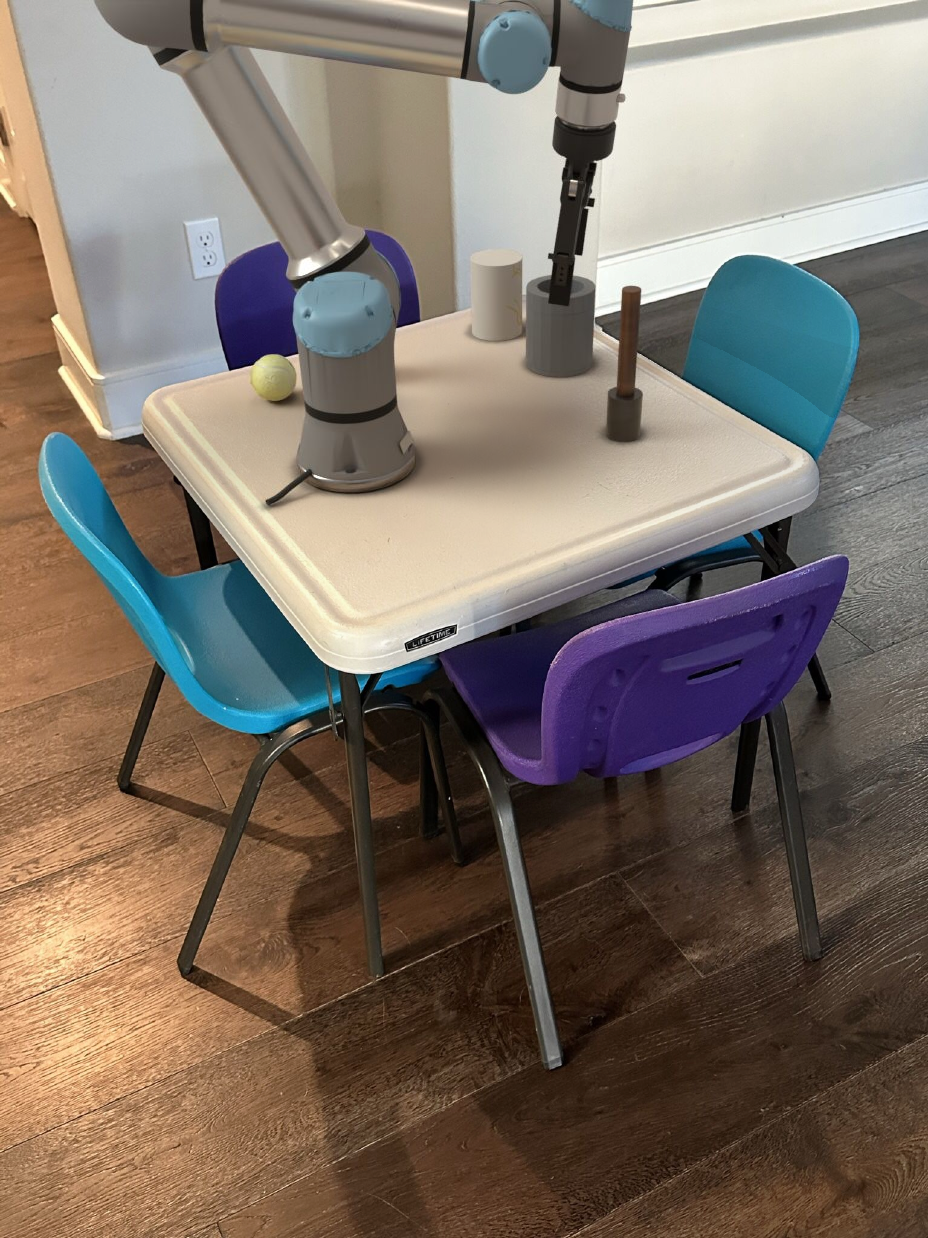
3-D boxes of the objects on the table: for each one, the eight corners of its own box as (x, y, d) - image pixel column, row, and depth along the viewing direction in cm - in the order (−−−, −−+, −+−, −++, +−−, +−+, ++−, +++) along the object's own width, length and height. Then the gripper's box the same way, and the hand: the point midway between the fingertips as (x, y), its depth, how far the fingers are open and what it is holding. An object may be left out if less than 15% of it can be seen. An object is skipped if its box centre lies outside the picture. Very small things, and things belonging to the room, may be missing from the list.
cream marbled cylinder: (522, 340, 179) (522, 265, 172) (471, 341, 179) (469, 266, 172) (521, 321, 186) (521, 248, 179) (472, 322, 186) (470, 249, 179)
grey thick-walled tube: (562, 382, 166) (564, 303, 159) (512, 364, 171) (512, 287, 164) (605, 362, 171) (609, 284, 164) (556, 345, 177) (557, 269, 170)
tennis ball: (301, 406, 162) (295, 362, 158) (254, 411, 161) (247, 367, 157) (297, 387, 167) (292, 344, 163) (252, 392, 166) (245, 349, 162)
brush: (625, 445, 149) (634, 297, 137) (598, 434, 152) (605, 289, 140) (646, 433, 152) (658, 287, 140) (620, 423, 154) (628, 279, 143)
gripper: (605, 166, 127) (581, 330, 143) (627, 82, 144) (604, 237, 160) (539, 157, 128) (523, 321, 143) (569, 75, 145) (551, 230, 160)
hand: (565, 277), depth 151 cm, fingers open, 13 cm apart
